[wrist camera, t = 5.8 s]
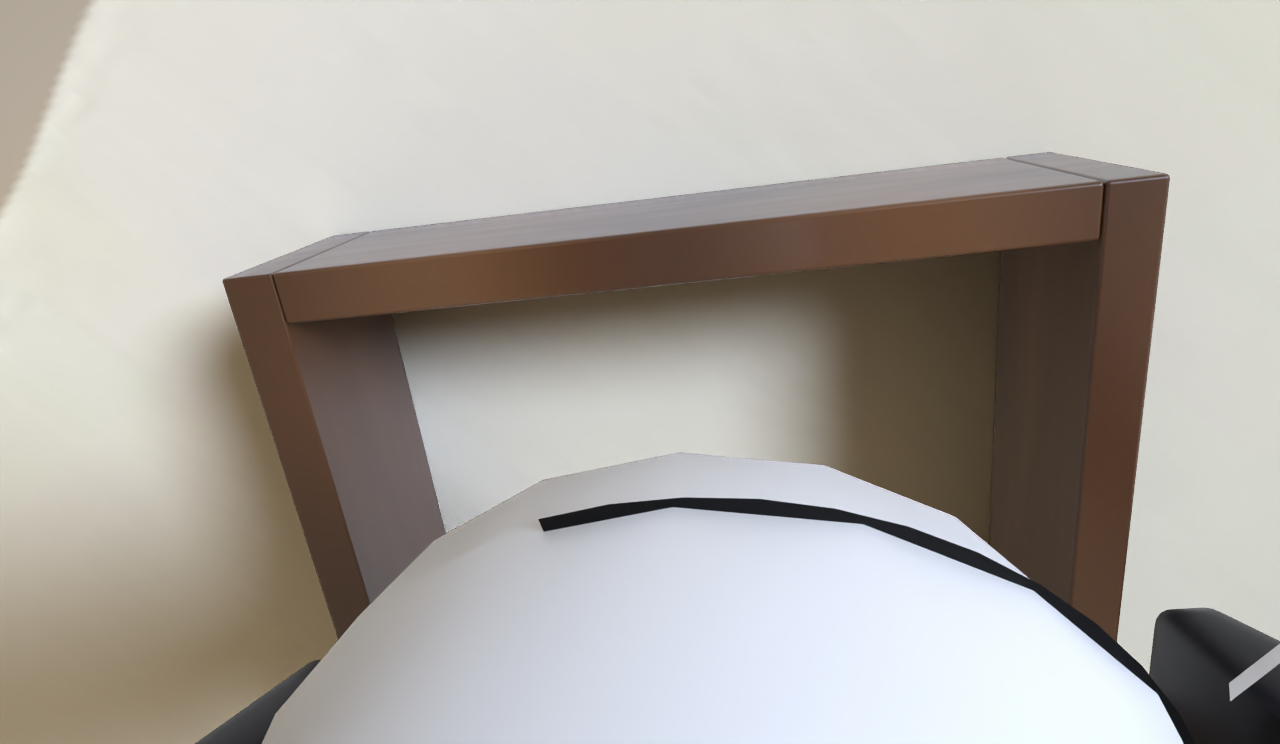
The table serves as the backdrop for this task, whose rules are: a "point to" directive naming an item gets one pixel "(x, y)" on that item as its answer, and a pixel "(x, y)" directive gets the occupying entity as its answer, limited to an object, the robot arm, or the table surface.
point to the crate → (724, 249)
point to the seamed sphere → (724, 626)
